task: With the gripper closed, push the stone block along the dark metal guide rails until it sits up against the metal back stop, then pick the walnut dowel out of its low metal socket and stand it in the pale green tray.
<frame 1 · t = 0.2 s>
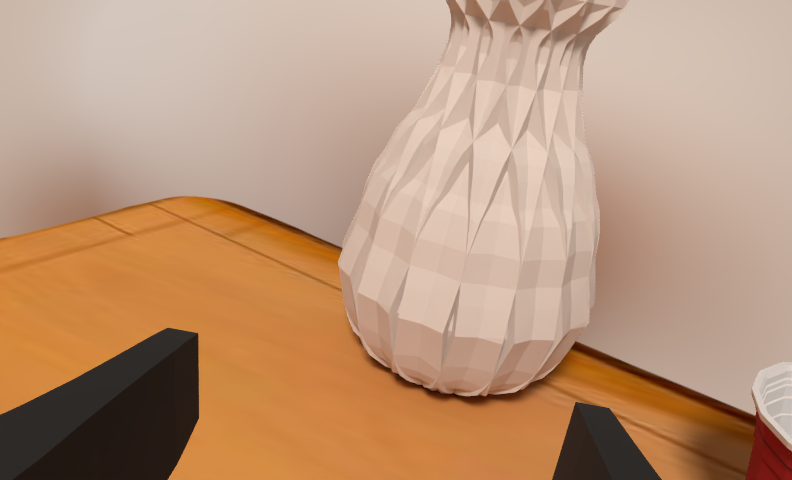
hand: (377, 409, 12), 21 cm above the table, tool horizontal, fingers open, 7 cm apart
vase: (445, 358, 53), on the table
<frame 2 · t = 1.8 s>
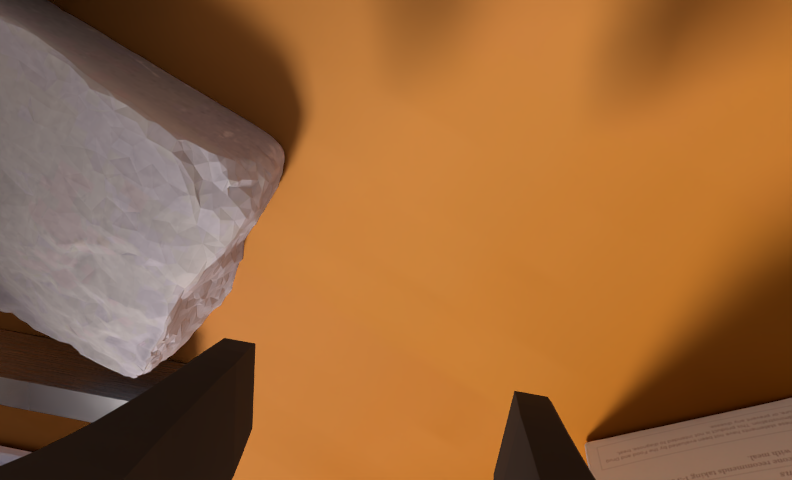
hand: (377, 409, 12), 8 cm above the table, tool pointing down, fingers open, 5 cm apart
stone block: (88, 173, 21), on the table
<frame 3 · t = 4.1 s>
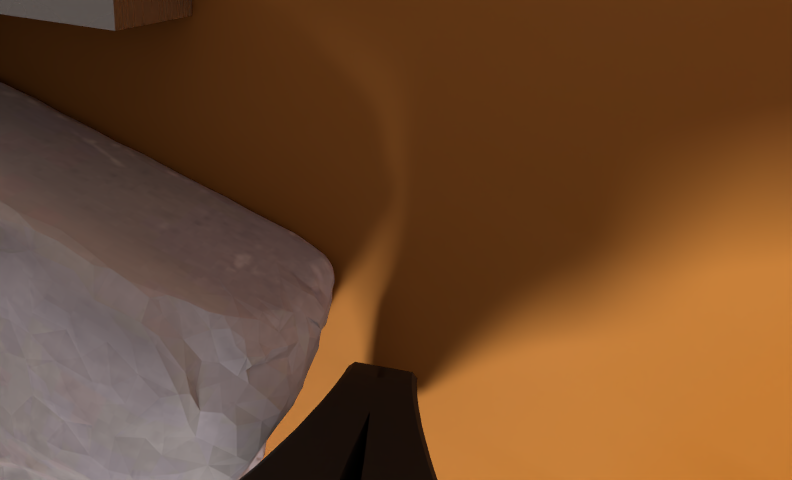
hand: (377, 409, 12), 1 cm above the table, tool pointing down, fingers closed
stone block: (35, 301, 14), on the table, touching gripper
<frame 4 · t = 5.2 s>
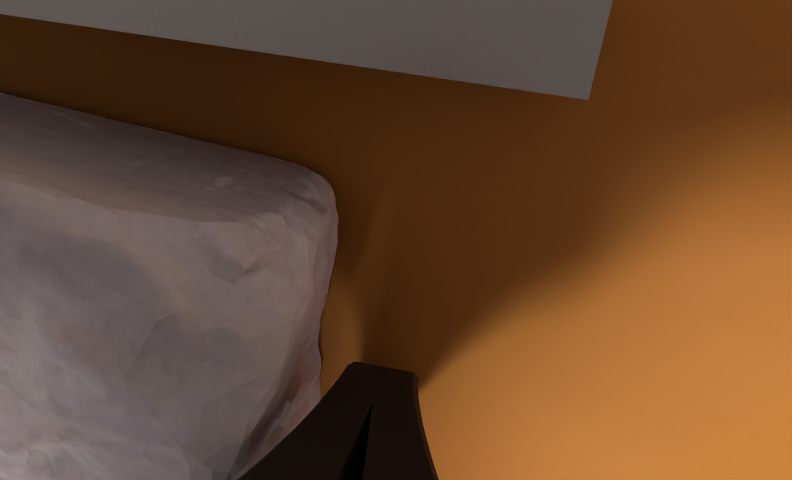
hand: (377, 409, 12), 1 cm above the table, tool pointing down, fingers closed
bench stop: (112, 328, 13), on the table
stone block: (66, 309, 14), on the table, touching gripper
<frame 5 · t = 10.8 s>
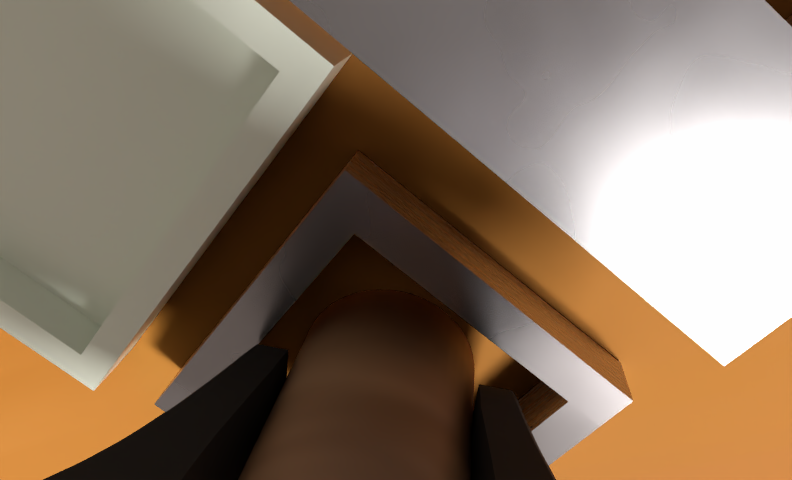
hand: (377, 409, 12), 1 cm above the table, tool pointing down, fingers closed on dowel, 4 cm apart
tray: (47, 82, 12), on the table
dowel: (362, 470, 11), in the dowel socket, touching gripper
dowel socket: (387, 366, 13), on the table
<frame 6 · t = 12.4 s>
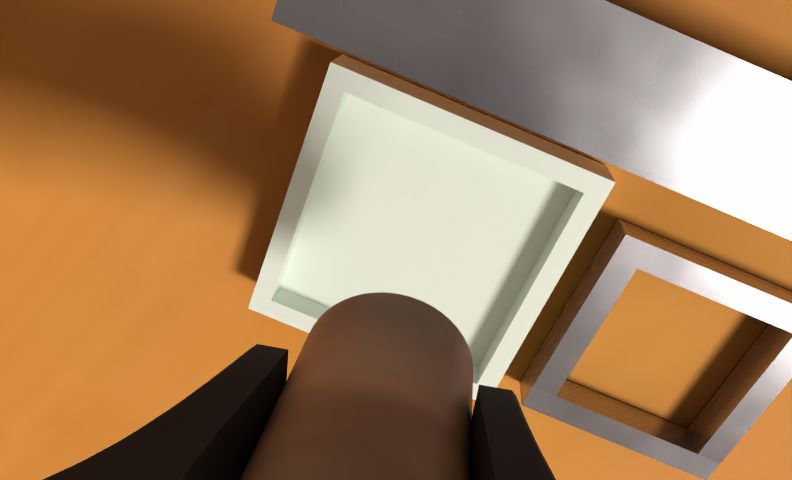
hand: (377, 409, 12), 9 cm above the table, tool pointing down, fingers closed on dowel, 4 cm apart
tray: (421, 230, 20), on the table
dowel: (362, 471, 11), point 10 cm above the table, touching gripper
dowel socket: (659, 345, 20), on the table
when the fingers open (3 cm above the table, at t = 14.1 s): dowel stays where it is, resting on tray.
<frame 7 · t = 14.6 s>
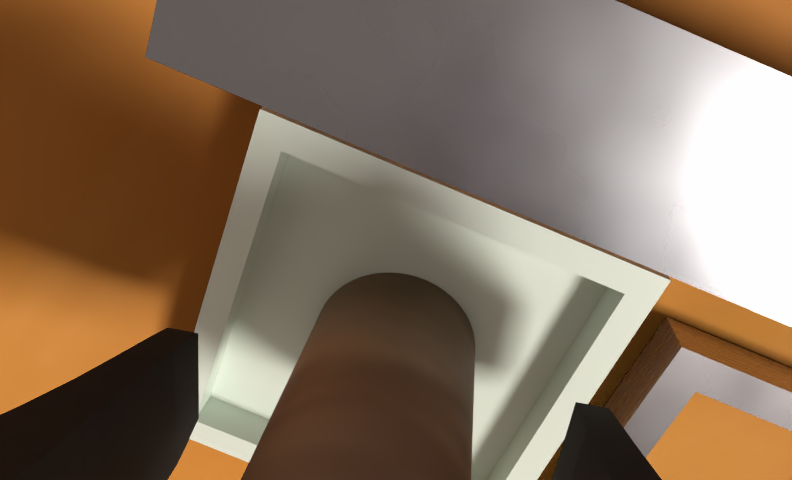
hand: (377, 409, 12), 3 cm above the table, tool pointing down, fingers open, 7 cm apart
tray: (397, 326, 15), on the table
dowel: (372, 434, 12), point 4 cm above the table, touching tray
dowel socket: (717, 475, 15), on the table
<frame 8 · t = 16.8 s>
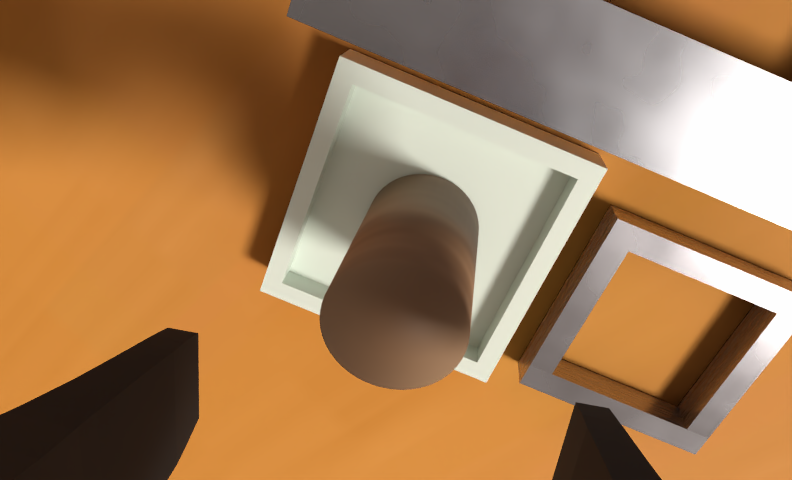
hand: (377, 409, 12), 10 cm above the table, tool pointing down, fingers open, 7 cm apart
tray: (424, 216, 21), on the table
dowel: (410, 269, 18), point 4 cm above the table, touching tray
dowel socket: (650, 325, 22), on the table
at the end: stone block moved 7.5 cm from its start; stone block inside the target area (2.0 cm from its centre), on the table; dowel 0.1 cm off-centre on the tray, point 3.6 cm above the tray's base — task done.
